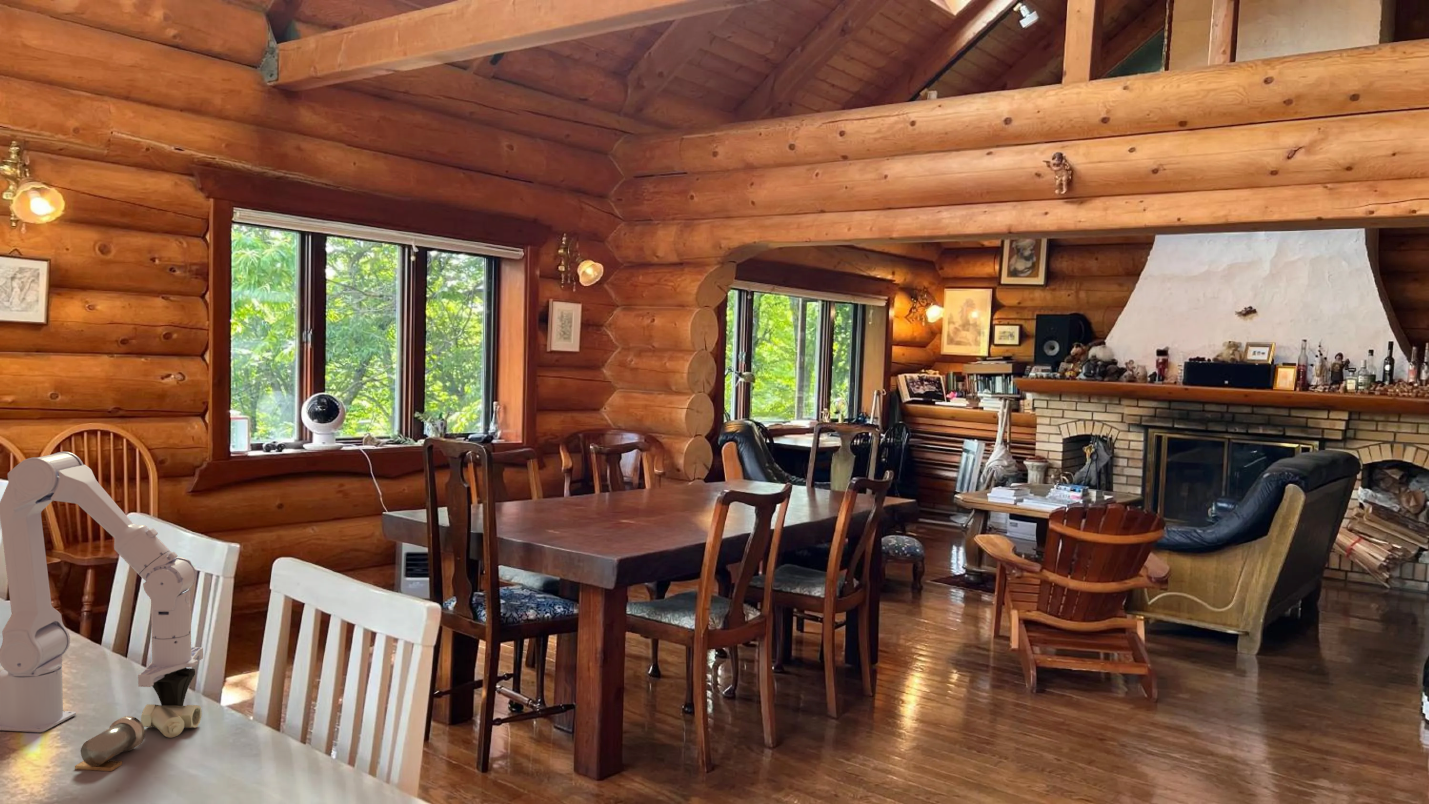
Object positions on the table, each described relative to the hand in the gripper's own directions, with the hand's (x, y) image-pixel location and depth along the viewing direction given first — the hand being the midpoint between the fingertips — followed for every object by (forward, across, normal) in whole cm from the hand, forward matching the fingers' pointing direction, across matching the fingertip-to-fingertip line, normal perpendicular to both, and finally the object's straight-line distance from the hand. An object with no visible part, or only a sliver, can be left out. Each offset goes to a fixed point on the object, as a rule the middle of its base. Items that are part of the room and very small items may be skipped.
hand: (172, 715), depth 168 cm
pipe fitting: (+1, -4, -2) cm, 5 cm away
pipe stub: (+1, -15, 0) cm, 15 cm away
